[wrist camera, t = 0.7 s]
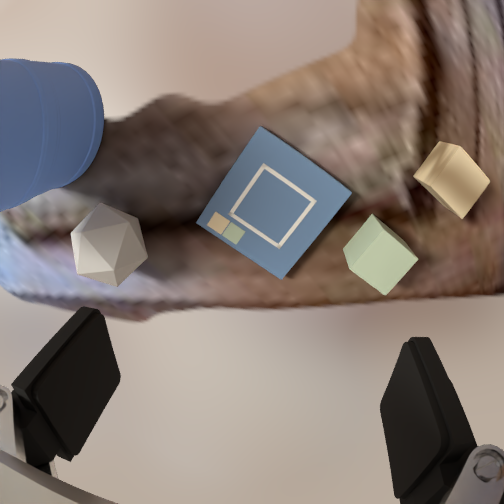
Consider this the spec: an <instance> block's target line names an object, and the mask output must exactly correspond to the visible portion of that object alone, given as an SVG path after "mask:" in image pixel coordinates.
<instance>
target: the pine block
mask: <svg viewBox="0 0 504 504" xmlns="http://www.w3.org/2000/svg"><path fill="white" fill-rule="evenodd" d="M413 177H414V178H415V179H416V180H417V181H419V182H420V183H421V184H422V185H423V186H424V187H425V188H426V189H427V190H428V191H429V192H430V193H431V194H432V195H433V196H434V197H435V198H436V199H437V200H438V201H439V202H440V203H441V204H442V205H443V206H444V207H446V208H447V209H449V210H450V211H452V212H453V213H454V214H456V215H457V216H459V217H460V218H461V219H463V218H464V216H465V215H466V214H467V213H468V211H469V210H470V209H471V207H472V206H473V205H474V203H475V202H476V201H477V199H478V198H479V196H480V195H481V194H482V192H483V191H484V190H485V188H486V187H487V185H488V184H489V183H490V180H489V179H488V178H487V176H486V175H485V174H484V173H483V172H482V170H481V169H480V168H479V167H478V166H477V164H476V163H475V162H474V161H473V160H472V159H471V157H470V156H469V155H468V154H467V153H466V152H465V151H464V150H463V149H462V147H461V146H458V145H453V144H449V143H445V142H441V141H439V142H438V144H437V145H436V146H435V148H434V149H433V151H432V152H431V153H430V155H429V156H428V157H427V159H426V160H425V161H424V163H423V164H422V165H421V167H420V168H419V169H418V171H417V172H416V173H415V174H414V176H413Z"/></svg>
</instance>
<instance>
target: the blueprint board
mask: <svg viewBox="0 0 504 504" xmlns="http://www.w3.org/2000/svg"><path fill="white" fill-rule="evenodd" d="M351 194H352V192H351V191H350V190H349V189H348V188H347V187H345V186H344V185H343V184H342V183H340V182H339V181H338V180H336V179H335V178H334V177H332V176H331V175H330V174H328V173H327V172H326V171H324V170H323V169H322V168H320V167H319V166H318V165H316V164H315V163H314V162H312V161H311V160H310V159H308V158H307V157H305V156H304V155H303V154H301V153H300V152H298V151H297V150H296V149H294V148H293V147H291V146H290V145H288V144H287V143H286V142H284V141H283V140H281V139H280V138H278V137H277V136H275V135H274V134H272V133H271V132H270V131H268V130H267V129H265V128H264V127H262V126H260V127H259V128H258V130H257V131H256V133H255V134H254V136H253V137H252V138H251V140H250V141H249V143H248V144H247V146H246V147H245V149H244V150H243V152H242V153H241V154H240V156H239V157H238V159H237V160H236V162H235V163H234V165H233V166H232V168H231V169H230V171H229V172H228V174H227V175H226V177H225V178H224V180H223V181H222V183H221V184H220V186H219V188H218V189H217V191H216V192H215V194H214V195H213V197H212V198H211V200H210V201H209V203H208V205H207V206H206V208H205V209H204V211H203V212H202V214H201V216H200V217H199V219H198V220H197V222H196V223H197V224H198V225H200V226H201V227H203V228H204V229H206V230H207V231H209V232H210V233H212V234H213V235H215V236H216V237H218V238H219V239H221V240H222V241H224V242H225V243H227V244H228V245H230V246H231V247H233V248H234V249H236V250H237V251H239V252H240V253H242V254H243V255H245V256H246V257H248V258H249V259H251V260H252V261H254V262H255V263H257V264H258V265H260V266H261V267H263V268H264V269H266V270H267V271H269V272H270V273H272V274H273V275H275V276H276V277H278V278H279V279H281V280H282V278H283V277H284V276H285V275H286V274H287V272H288V271H289V270H290V269H291V268H292V266H293V265H294V264H295V263H296V262H297V260H298V259H299V258H300V257H301V256H302V254H303V253H304V252H305V251H306V250H307V248H308V247H309V246H310V245H311V243H312V242H313V241H314V240H315V239H316V237H317V236H318V235H319V234H320V232H321V231H322V230H323V229H324V227H325V226H326V225H327V224H328V222H329V221H330V220H331V219H332V218H333V216H334V215H335V214H336V213H337V211H338V210H339V209H340V207H341V206H342V205H343V204H344V202H345V201H346V200H347V199H348V197H349V196H350V195H351Z"/></svg>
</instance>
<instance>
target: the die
mask: <svg viewBox="0 0 504 504" xmlns="http://www.w3.org/2000/svg"><path fill="white" fill-rule="evenodd" d="M71 238H72V245H73V252H74V258H75V264H76V270H77V274H78V275H81V276H84V277H87V278H91V279H94V280H97V281H100V282H103V283H107V284H110V285H113V286H116V287H118V286H119V285H120V284H121V283H122V282H123V281H124V280H125V279H126V278H127V277H128V276H129V275H130V274H131V273H132V272H133V271H134V270H135V269H136V268H137V267H138V266H140V265H141V264H142V263H143V262H144V261H145V260H146V259H147V258H148V255H147V251H146V248H145V244H144V240H143V236H142V233H141V229H140V225H139V221H138V218H136V217H134V216H131V215H129V214H127V213H124V212H122V211H120V210H117V209H115V208H113V207H110V206H108V205H106V204H103V203H101V202H100V203H99V204H98V205H97V206H96V207H95V208H94V209H93V210H92V211H91V212H90V213H89V214H88V215H87V216H86V217H85V218H84V220H83V221H82V222H81V223H80V224H79V225H78V226H77V227H76V228H75V229H74V230H73V231H72V232H71Z"/></svg>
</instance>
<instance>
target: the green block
mask: <svg viewBox="0 0 504 504" xmlns="http://www.w3.org/2000/svg"><path fill="white" fill-rule="evenodd" d="M343 251H344V254H345V257H346V260H347V263H348V266H349V269H350V270H351V271H353V272H354V273H356V274H357V275H358V276H360V277H361V278H362V279H364V280H365V281H366V282H368V283H369V284H370V285H372V286H373V287H374V288H376V289H377V290H378V291H380V292H381V293H382V294H384V295H386V294H387V293H388V292H389V291H390V290H391V289H392V288H393V287H394V286H395V285H396V284H397V283H398V281H399V280H400V279H401V278H402V277H403V276H404V275H405V274H406V273H407V272H408V270H409V269H410V268H411V267H412V266H413V265H414V264H415V263H416V261H417V260H418V258H417V257H416V255H415V254H414V253H413V252H412V250H411V249H410V248H409V246H408V245H407V244H406V243H405V241H404V240H403V239H401V238H400V237H399V236H398V235H397V234H396V233H394V232H393V231H392V230H391V229H390V228H389V227H387V226H386V225H385V224H384V223H383V222H381V221H380V220H379V219H378V218H377V217H375V216H374V215H373V214H372V215H371V216H370V217H369V218H368V220H367V221H366V222H365V223H364V224H363V226H362V227H361V228H360V229H359V230H358V232H357V233H356V234H355V235H354V236H353V238H352V239H351V240H350V241H349V242H348V244H347V245H346V246H345V247H344V248H343Z"/></svg>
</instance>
